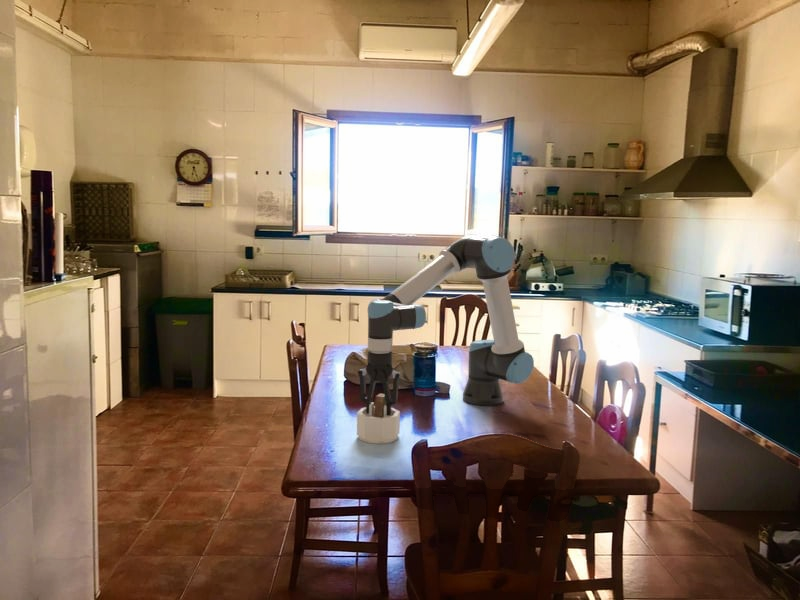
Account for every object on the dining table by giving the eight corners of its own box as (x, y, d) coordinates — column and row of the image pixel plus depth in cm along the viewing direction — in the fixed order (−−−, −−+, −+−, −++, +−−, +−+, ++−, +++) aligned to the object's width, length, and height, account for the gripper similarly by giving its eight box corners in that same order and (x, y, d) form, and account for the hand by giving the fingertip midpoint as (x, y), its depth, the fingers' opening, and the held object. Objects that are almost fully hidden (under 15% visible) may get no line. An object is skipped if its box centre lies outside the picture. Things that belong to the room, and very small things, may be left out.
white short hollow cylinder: (401, 432, 208) (402, 408, 207) (393, 445, 196) (393, 420, 195) (364, 428, 211) (364, 404, 210) (353, 441, 199) (353, 416, 198)
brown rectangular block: (384, 431, 205) (387, 394, 204) (380, 435, 201) (383, 397, 200) (376, 430, 206) (380, 393, 205) (372, 434, 201) (375, 396, 201)
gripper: (409, 350, 201) (407, 423, 205) (356, 346, 205) (355, 418, 208) (404, 355, 194) (402, 430, 197) (349, 351, 198) (348, 425, 201)
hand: (378, 424), depth 203 cm, fingers open, 4 cm apart
